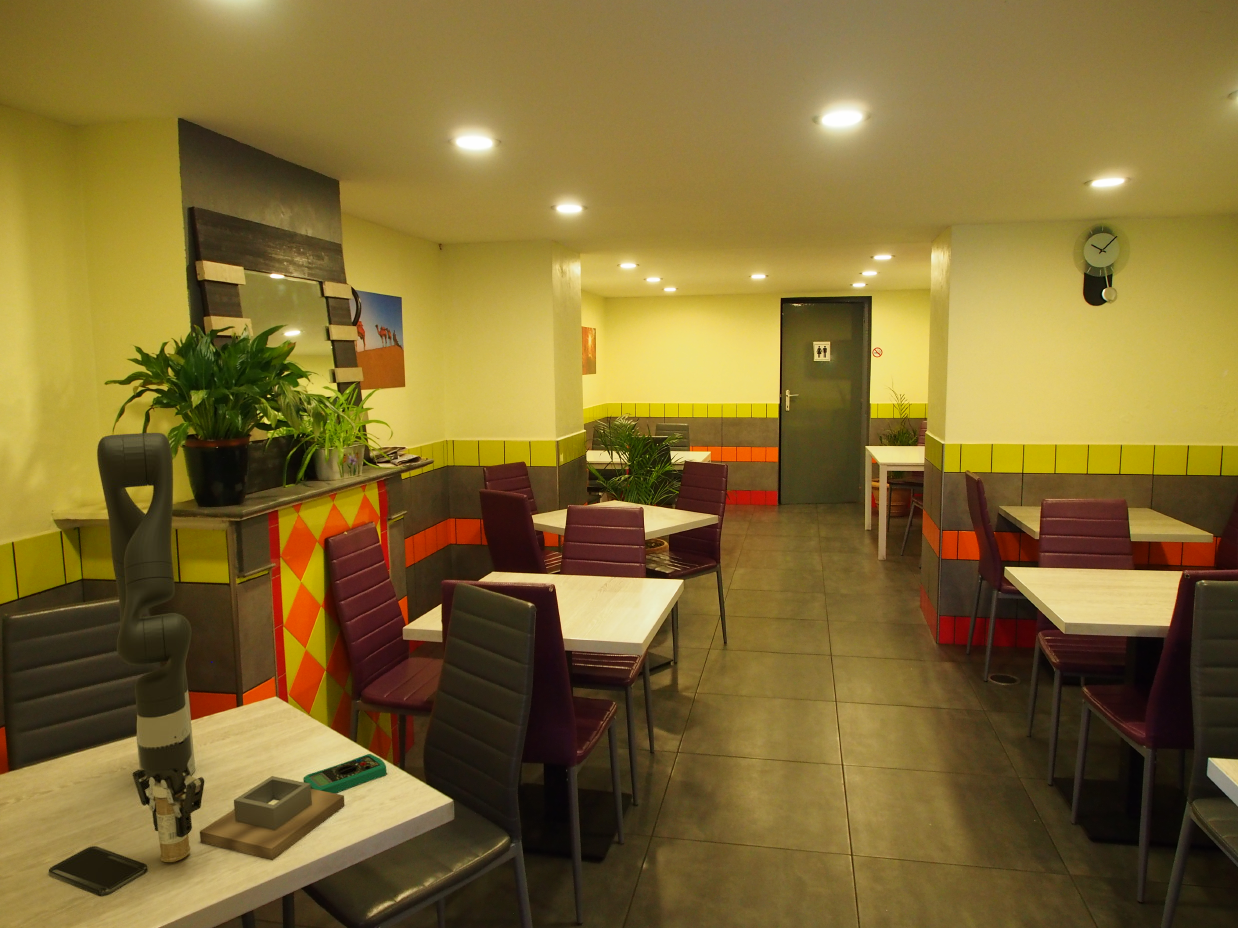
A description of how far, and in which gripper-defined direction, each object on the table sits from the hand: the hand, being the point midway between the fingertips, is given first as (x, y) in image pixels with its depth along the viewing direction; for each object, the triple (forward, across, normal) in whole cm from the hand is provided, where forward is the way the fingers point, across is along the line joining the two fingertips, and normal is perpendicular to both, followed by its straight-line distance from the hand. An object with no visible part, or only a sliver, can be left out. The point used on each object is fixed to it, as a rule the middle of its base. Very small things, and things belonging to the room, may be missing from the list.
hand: (173, 831), depth 138 cm
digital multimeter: (+5, +10, +31) cm, 33 cm away
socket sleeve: (+3, +8, +14) cm, 16 cm away
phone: (+5, -9, -7) cm, 12 cm away
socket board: (+5, +8, +14) cm, 17 cm away
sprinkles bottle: (+4, 0, 0) cm, 4 cm away
